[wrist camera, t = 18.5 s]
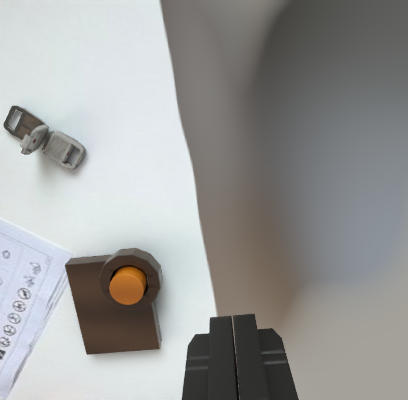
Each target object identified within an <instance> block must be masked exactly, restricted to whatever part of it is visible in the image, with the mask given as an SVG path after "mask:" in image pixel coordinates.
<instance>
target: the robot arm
mask: <svg viewBox="0 0 408 400" xmlns="http://www.w3.org/2000/svg"><path fill="white" fill-rule="evenodd" d="M233 320H234V332H235V345H234V336H233V328H232V318H231V316H224V317H211V318H210V332H209V333H208V334H195V336H194V337H193V339H192V340H191V342H190V343H189V345H188V350H187V360H186V368H185V369H186V371H185V377H184V385H183V394H182V400H239V396H240V400H299V399H298V396H297V392H296V389H295V385H294V381H293V378H292V374H291V371H290V367H289V364H288V360H287V356H286V353H285V349H284V345H283V342H282V338H281V337H280V336H279V335H278V334H277V333H276V332H275V331H274V330H273V329H272V328H270V329H258V330H257V325H256V320H255V314H246V315H234V316H233ZM235 346H236V354H235ZM236 359H237V364H236ZM237 371H238V375H237ZM238 384H239V388H238Z"/></svg>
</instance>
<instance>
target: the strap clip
mask: <svg viewBox="0 0 408 400" xmlns="http://www.w3.org/2000/svg"><path fill="white" fill-rule="evenodd" d="M16 109H17V110H19V111H21V112H23V113H22V115H21V118H20V120H19V122H18V124H17V126H16V128H15V130H14V129H12V128H11V127H9V123H10V121H11V119H12V116H13V114H14V112H15V110H16ZM4 128H5V129H6V130H7V131H9V132H10V133H11V134H12V135H14V136H16V137H18V138H20V139H22V143H21V145H20V146H21V147H22V148H23V149H22V152H21V153H22V154H24V155H28V154H31V153H32V152H34V151H35V150H36V149H38V148H39V146H40V144H41V142H42V140H43V138H44V136H45V134H46V132H47V130H48V126H46V125H45V122H44V121H42V120H41V119H39V118H38V117H36V116H35V115H34V114H32V113H31V112H29V111H28V110H26V109H24V108H21V107H19V106H12V107H11V109H10V111H9V114H8V116H7V118H6V120H5V122H4ZM74 146H76V147H77V148H78V149H80V152H79V154H78V156H77V158H76V160H75V162H74V164H73V165H72V164H70V163H68V162H66V161H67V159H68V157H69V155H70V154H71V152H72V150H73V148H74ZM42 149H43V150H44V154H45V155H47V156H48V157H50V158H51V159H53V160H54V161H56V162H57V163H59V164H60V165H61V166H64V167H66V168H69V169H75V168H76V167H77V166H78V165H79V163H80V161H81V159H82V157H83V155H84V153H85V148H84V146H83V145H82V144H80V143H79V142H78V141H77V140H75V139H73V138H71V137H69V136H67V135H66V134H64V133H62V132H60V131H53V132H50V134H49V136H48V138H47V140H46V142H45V144H44V146H43V148H42Z"/></svg>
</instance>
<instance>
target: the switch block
mask: <svg viewBox="0 0 408 400" xmlns="http://www.w3.org/2000/svg"><path fill="white" fill-rule="evenodd" d="M127 266H131V267H135V268H138V269H139V270H141V271H142V272H143V273H144V275H145V277H146V280H147V285H146V288H145V291H144V294H143V296H142V298H141V299H140V300H139V301H138V302H136V303H134V304H130V305H125V304H121V303H119V302H117V301H116V300H115V299H114V298H113V297H112V296H111V294H110V290H109V286H110V283H111V281H112V279H113V277H114V275H115V274H116V272H117V271H118V270H119V269H121V268H123V267H127ZM65 267H66V271H67V275H68V280H69V284H70V288H71V292H72V296H73V300H74V304H75V308H76V312H77V316H78V321H79V325H80V329H81V333H82V337H83V341H84V345H85V349H86V353H87V354H100V353H114V352H127V351H140V350H153V349H160V345H161V341H162V339H161V333H160V327H159V321H158V316H157V310H156V304H155V299H156V297H157V294H158V292H159V290H160V288H161V284H162V281H163V277H162V271H161V266H160V264H159V263H158V262H157V261H156V260H155V259H154V257H153V256H152V255H151V254H150V253H147V252H145V251H142V250H140V249H137V248H131V249H121V250H119V251H118V252H116V253H115V254H113V255H104V256H93V257H83V258H72V259H70V260H69V261H68V262H67V263H66V264H65Z"/></svg>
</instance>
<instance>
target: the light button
mask: <svg viewBox="0 0 408 400" xmlns="http://www.w3.org/2000/svg"><path fill="white" fill-rule="evenodd" d="M146 285H147V280H146V277H145V275H144V273H143V272H142V271H141V270H139V269H138V268H135V267H131V266H127V267H123V268H121V269H119V270H118V271H117V272H116V274H115V275H114V277H113V279H112V281H111V283H110V286H109V290H110V294H111V296H112V297H113V298H114V299H115V300H116V301H117V302H119V303H121V304H125V305H130V304H134V303H136V302H138V301H139V300H140V299H141V298H142V296H143V294H144V291H145V288H146Z"/></svg>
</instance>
